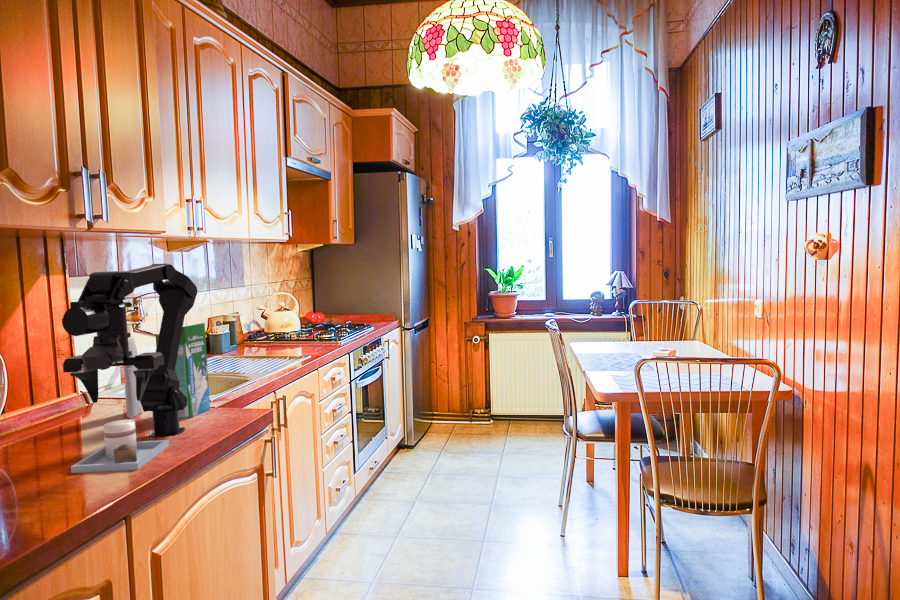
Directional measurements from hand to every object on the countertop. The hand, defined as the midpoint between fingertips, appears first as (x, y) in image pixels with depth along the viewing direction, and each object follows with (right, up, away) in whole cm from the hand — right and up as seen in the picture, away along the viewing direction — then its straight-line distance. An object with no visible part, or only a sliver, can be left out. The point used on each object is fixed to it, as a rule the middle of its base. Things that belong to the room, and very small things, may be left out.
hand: (117, 401), depth 126 cm
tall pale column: (-17, -10, +38) cm, 43 cm away
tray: (+2, -12, -1) cm, 13 cm away
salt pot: (+5, -12, -5) cm, 14 cm away
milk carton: (-2, -10, +37) cm, 38 cm away
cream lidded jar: (0, -12, +1) cm, 12 cm away
